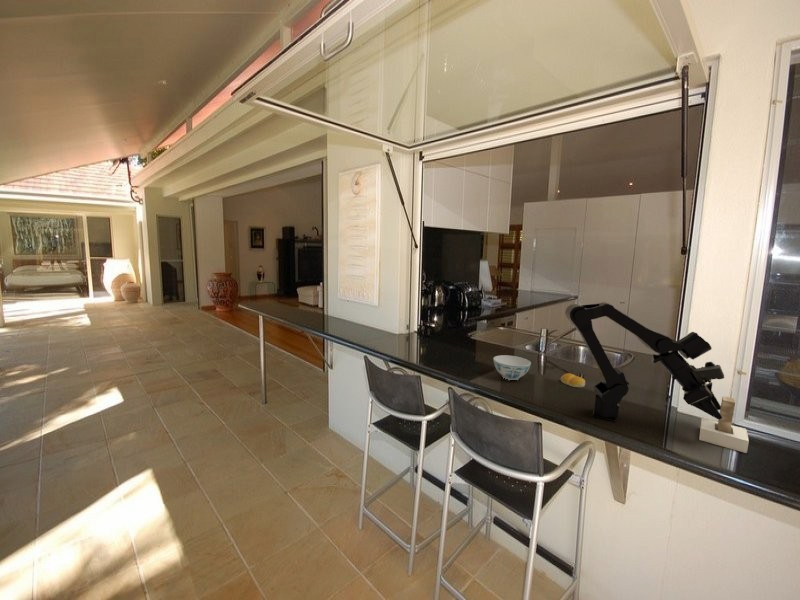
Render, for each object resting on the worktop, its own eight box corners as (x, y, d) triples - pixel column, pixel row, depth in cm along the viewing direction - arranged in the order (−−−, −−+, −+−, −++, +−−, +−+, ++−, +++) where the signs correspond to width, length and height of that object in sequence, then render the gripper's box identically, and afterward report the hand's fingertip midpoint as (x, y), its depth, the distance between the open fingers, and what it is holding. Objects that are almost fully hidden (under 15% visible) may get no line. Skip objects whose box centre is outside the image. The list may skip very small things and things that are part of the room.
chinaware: (533, 377, 152) (534, 360, 151) (523, 387, 140) (525, 368, 139) (498, 369, 160) (500, 353, 159) (487, 378, 148) (488, 360, 147)
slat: (716, 441, 103) (723, 400, 102) (715, 435, 107) (722, 395, 105) (728, 444, 102) (735, 402, 100) (727, 438, 105) (734, 398, 104)
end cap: (699, 439, 104) (701, 428, 103) (700, 428, 111) (701, 417, 111) (746, 453, 97) (748, 441, 97) (744, 440, 105) (746, 428, 104)
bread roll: (577, 389, 141) (579, 379, 140) (557, 382, 148) (558, 372, 148) (589, 386, 145) (590, 376, 145) (569, 379, 153) (570, 370, 152)
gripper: (705, 360, 98) (753, 411, 93) (706, 349, 112) (748, 392, 106) (665, 379, 104) (709, 428, 99) (671, 367, 118) (709, 409, 113)
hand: (720, 413), depth 104 cm, fingers open, 9 cm apart
